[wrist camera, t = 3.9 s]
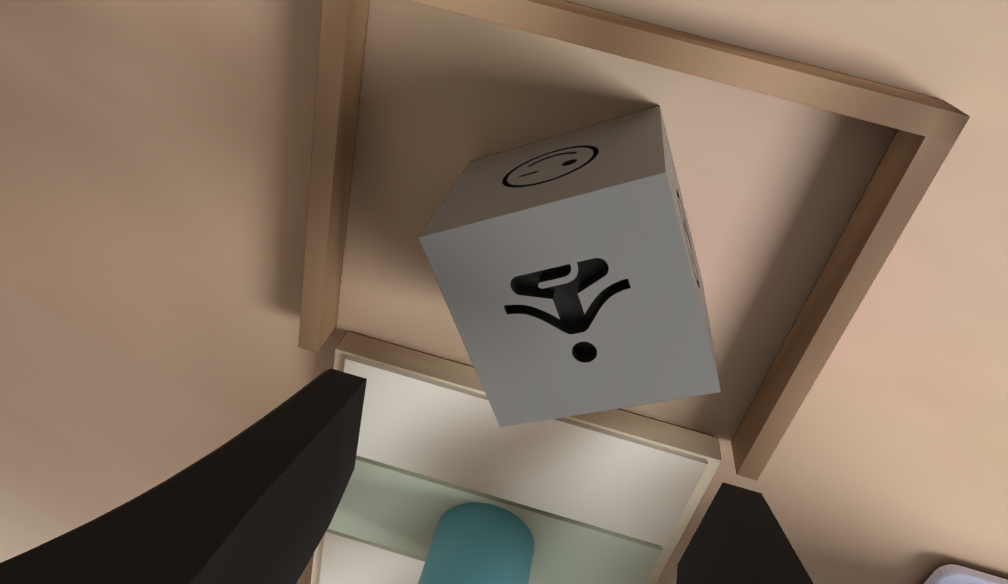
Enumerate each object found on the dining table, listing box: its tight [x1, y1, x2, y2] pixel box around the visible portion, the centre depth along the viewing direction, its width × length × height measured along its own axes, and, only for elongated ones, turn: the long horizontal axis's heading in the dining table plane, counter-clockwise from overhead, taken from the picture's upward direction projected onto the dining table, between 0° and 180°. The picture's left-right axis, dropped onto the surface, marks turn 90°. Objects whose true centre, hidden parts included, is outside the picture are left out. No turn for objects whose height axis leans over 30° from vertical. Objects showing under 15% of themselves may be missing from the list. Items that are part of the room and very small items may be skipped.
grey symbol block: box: [418, 105, 721, 427], centre depth 16 cm, size 5×5×5 cm
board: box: [298, 0, 970, 584], centre depth 23 cm, size 14×31×1 cm, turn 168°
